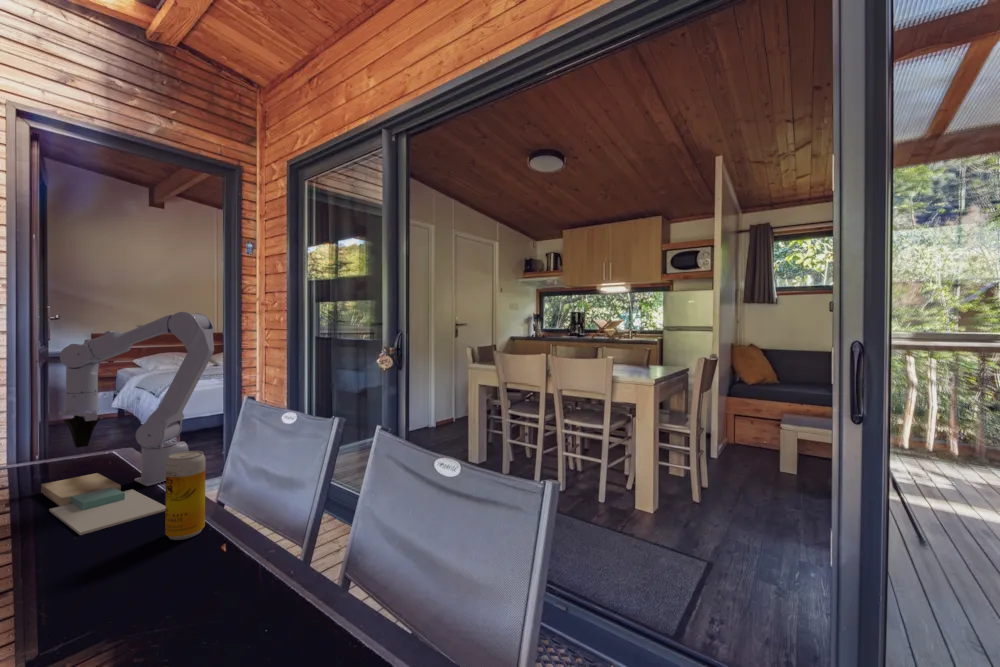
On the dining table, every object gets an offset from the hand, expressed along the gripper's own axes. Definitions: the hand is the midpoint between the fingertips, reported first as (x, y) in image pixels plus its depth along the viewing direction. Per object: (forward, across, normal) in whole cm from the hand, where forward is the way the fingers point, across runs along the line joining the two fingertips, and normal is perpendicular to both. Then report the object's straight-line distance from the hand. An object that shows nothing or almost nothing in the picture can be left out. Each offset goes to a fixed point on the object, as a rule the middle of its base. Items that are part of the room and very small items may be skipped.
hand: (81, 446), depth 108 cm
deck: (+9, +8, -2) cm, 13 cm away
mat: (+9, +26, -2) cm, 28 cm away
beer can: (+10, +52, +2) cm, 53 cm away
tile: (+9, +20, -2) cm, 22 cm away
